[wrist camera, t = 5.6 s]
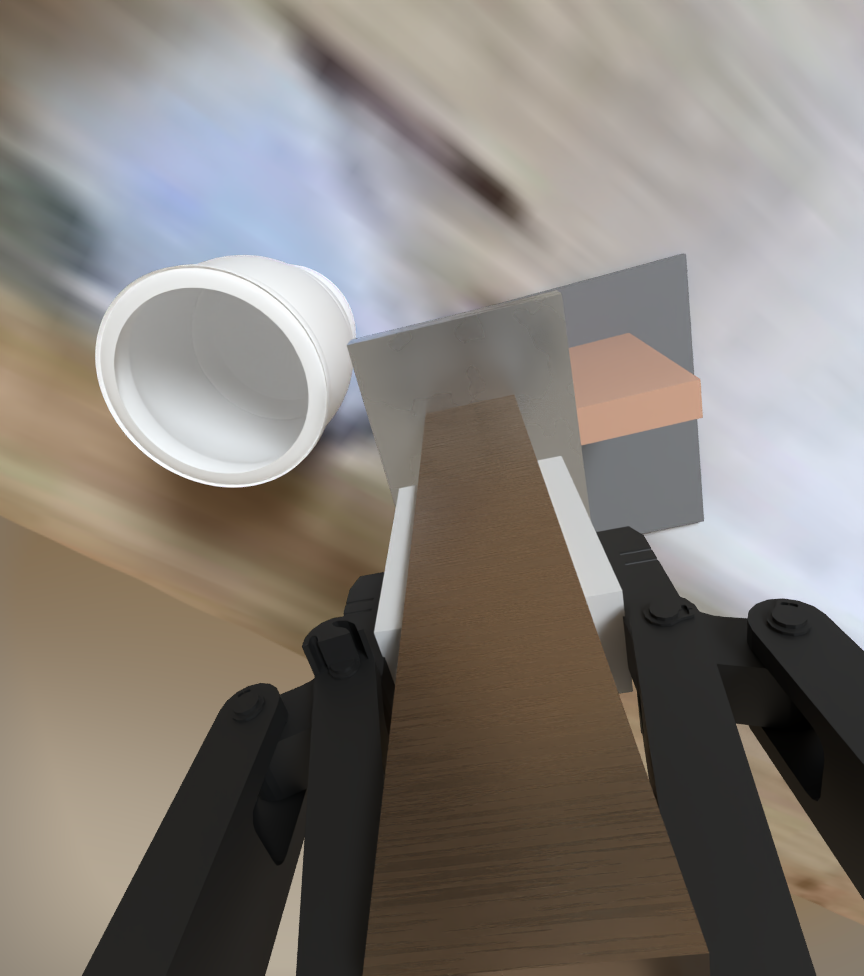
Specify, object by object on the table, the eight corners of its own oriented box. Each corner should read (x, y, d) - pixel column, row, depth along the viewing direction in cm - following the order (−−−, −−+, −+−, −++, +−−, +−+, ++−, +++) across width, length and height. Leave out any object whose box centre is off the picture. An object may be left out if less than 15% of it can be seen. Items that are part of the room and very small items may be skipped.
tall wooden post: (350, 339, 22) (-6, 816, 5) (556, 290, 21) (1052, 671, 4) (413, 551, 26) (348, 1198, 9) (587, 519, 25) (879, 1180, 8)
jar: (214, 380, 41) (95, 461, 27) (225, 228, 36) (90, 235, 23) (357, 415, 41) (311, 510, 28) (385, 270, 37) (347, 301, 23)
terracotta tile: (498, 366, 39) (515, 423, 28) (629, 332, 38) (700, 379, 27) (504, 395, 40) (524, 461, 29) (632, 363, 39) (702, 420, 28)
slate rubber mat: (428, 322, 38) (427, 324, 38) (682, 253, 36) (685, 254, 35) (490, 561, 47) (491, 564, 46) (701, 517, 44) (703, 521, 44)
